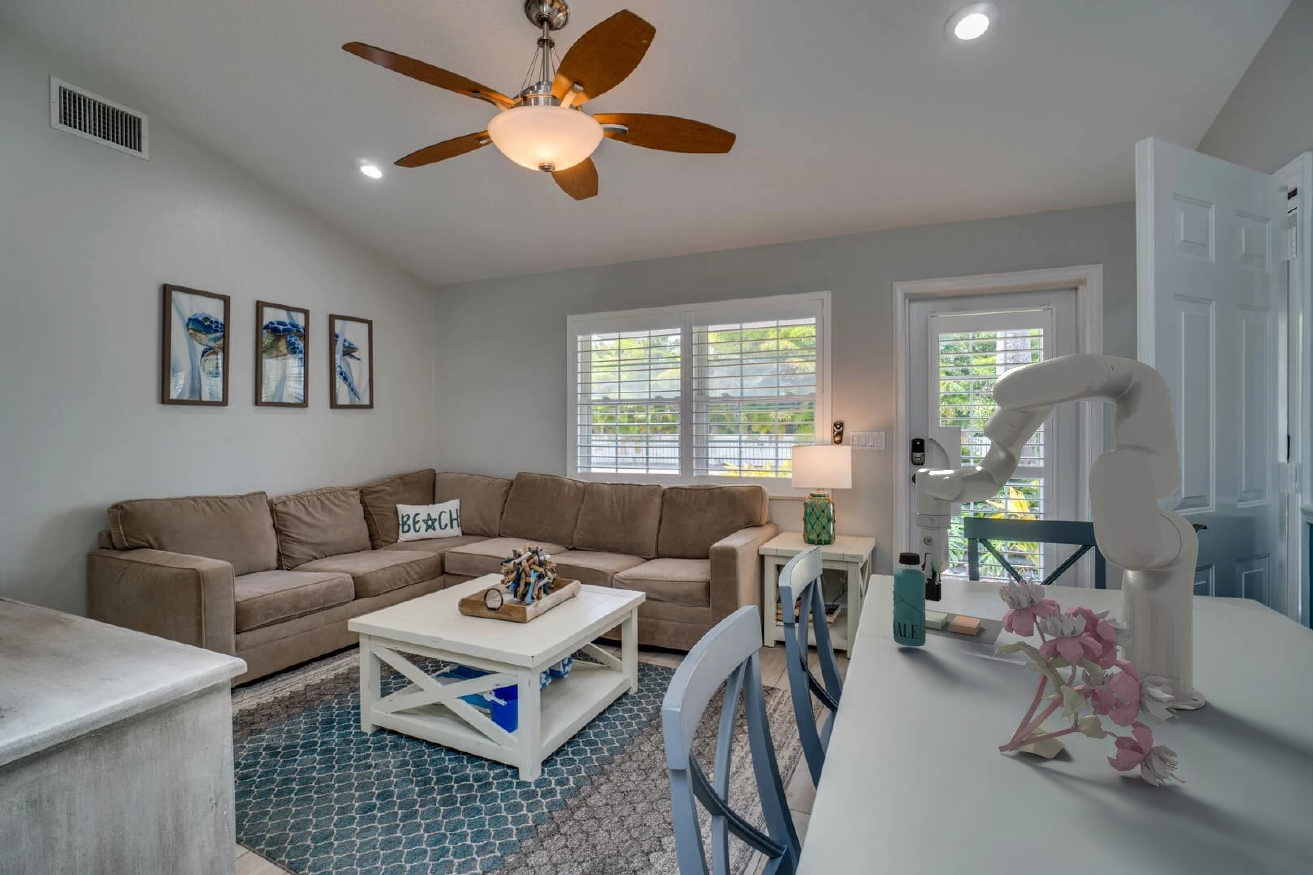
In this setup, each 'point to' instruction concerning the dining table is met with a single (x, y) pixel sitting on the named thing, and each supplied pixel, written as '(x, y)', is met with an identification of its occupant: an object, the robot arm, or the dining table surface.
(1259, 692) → the dining table surface
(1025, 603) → the flower
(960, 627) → the tile
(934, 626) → the tile
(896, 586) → the beverage bottle
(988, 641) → the mat
